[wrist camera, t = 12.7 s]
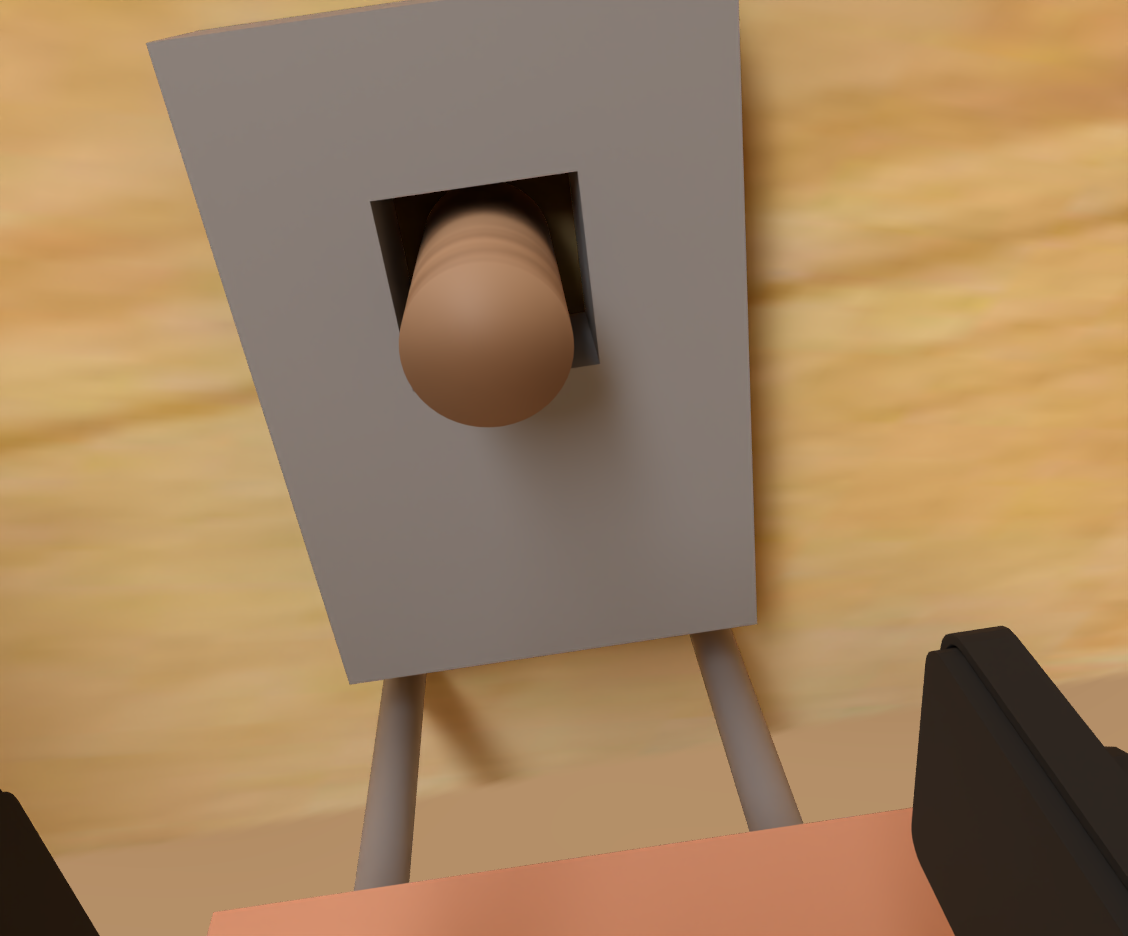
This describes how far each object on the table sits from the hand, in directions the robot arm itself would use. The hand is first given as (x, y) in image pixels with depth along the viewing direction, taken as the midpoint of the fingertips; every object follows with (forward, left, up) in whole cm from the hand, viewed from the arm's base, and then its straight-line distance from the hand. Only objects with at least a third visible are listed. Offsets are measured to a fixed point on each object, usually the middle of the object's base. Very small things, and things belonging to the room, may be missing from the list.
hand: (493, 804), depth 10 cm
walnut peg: (0, 0, -22) cm, 22 cm away
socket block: (+3, 0, -22) cm, 22 cm away
